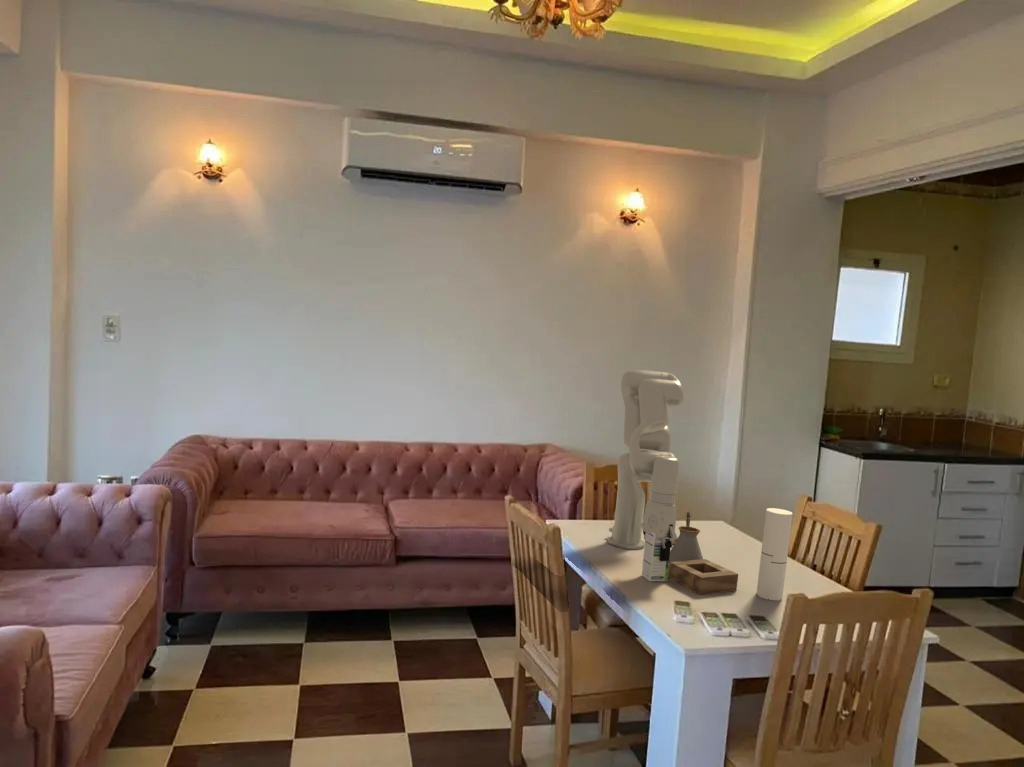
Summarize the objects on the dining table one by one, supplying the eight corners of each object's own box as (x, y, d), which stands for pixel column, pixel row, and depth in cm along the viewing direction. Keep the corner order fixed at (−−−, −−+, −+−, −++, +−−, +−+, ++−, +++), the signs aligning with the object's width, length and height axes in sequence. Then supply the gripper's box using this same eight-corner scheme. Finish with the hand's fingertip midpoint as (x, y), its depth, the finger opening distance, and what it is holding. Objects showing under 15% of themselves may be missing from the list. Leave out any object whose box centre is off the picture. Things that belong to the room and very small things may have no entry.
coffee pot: (703, 577, 231) (709, 529, 230) (665, 571, 234) (670, 523, 233) (701, 557, 252) (706, 513, 251) (666, 552, 254) (671, 508, 253)
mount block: (667, 578, 227) (669, 562, 227) (703, 574, 234) (705, 559, 233) (699, 594, 215) (701, 577, 214) (736, 590, 221) (738, 574, 221)
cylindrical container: (761, 589, 224) (771, 506, 223) (785, 596, 220) (796, 512, 218) (752, 594, 219) (762, 510, 217) (777, 602, 214) (787, 515, 213)
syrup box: (649, 581, 222) (654, 533, 221) (640, 575, 228) (646, 527, 227) (667, 581, 224) (672, 533, 223) (658, 575, 229) (663, 528, 228)
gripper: (634, 491, 230) (628, 548, 231) (671, 505, 215) (665, 567, 216) (654, 490, 233) (648, 547, 235) (692, 504, 218) (685, 565, 219)
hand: (656, 556), depth 225 cm, fingers closed on syrup box, 6 cm apart
